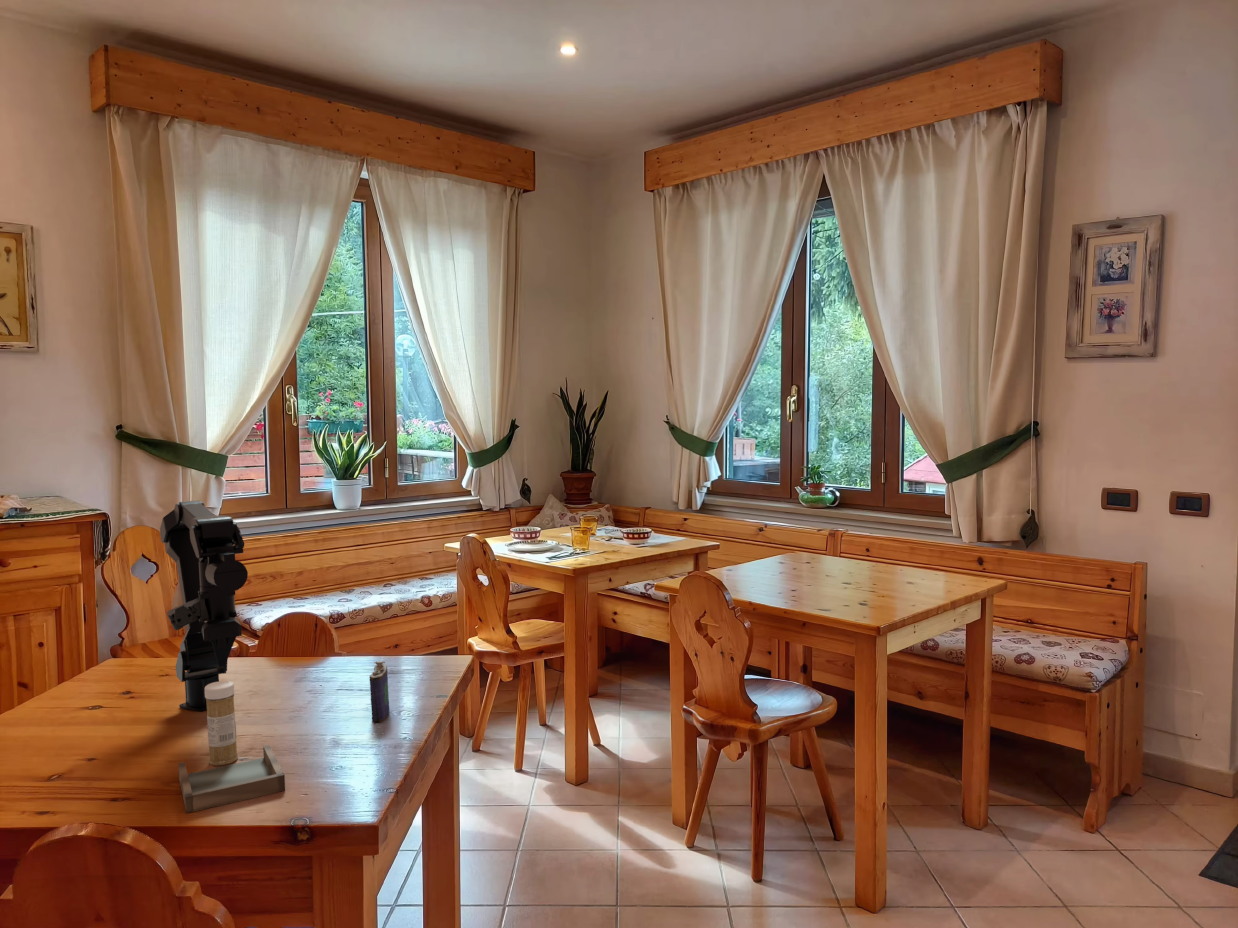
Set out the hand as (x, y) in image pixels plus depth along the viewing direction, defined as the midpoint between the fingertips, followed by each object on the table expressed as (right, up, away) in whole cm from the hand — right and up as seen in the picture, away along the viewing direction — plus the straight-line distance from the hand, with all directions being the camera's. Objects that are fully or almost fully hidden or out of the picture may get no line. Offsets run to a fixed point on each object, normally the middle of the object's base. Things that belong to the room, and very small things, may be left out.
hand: (221, 666), depth 162 cm
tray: (+13, -13, -24) cm, 30 cm away
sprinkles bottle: (+7, -13, -15) cm, 21 cm away
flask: (+28, -11, +6) cm, 31 cm away
